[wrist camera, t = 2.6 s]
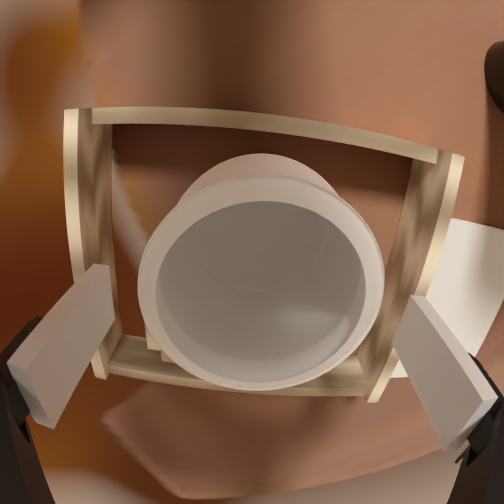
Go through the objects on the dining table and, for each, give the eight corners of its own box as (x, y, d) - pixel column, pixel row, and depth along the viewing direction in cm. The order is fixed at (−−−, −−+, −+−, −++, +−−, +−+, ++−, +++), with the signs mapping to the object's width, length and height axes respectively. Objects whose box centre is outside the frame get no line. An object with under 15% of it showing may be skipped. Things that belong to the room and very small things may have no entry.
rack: (101, 108, 23) (64, 109, 18) (426, 146, 24) (464, 156, 19) (114, 340, 33) (95, 377, 27) (363, 363, 34) (377, 402, 28)
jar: (240, 116, 24) (221, 116, 10) (344, 189, 26) (431, 271, 12) (172, 223, 27) (102, 330, 14) (272, 283, 30) (283, 417, 16)
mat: (422, 212, 27) (424, 213, 26) (524, 234, 27) (526, 236, 27) (365, 375, 35) (366, 378, 34) (464, 369, 35) (466, 371, 35)
